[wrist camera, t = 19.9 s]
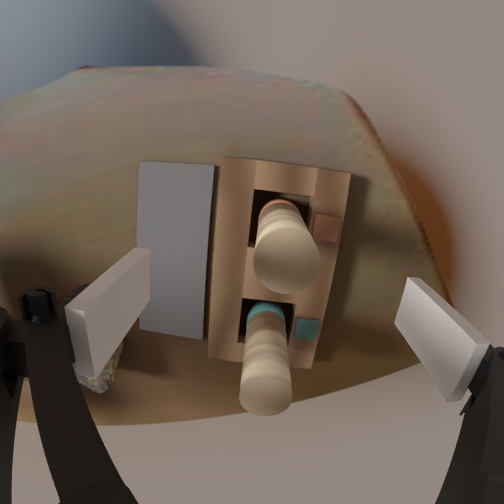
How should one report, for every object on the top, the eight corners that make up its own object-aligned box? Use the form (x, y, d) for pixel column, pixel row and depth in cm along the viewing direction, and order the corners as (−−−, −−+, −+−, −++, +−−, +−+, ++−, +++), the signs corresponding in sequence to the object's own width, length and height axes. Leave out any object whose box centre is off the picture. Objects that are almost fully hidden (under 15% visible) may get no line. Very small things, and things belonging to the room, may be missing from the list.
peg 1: (261, 194, 31) (256, 224, 18) (302, 200, 31) (327, 233, 18) (256, 234, 33) (248, 290, 19) (296, 239, 33) (314, 297, 19)
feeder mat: (140, 327, 37) (139, 329, 36) (141, 160, 31) (139, 160, 30) (203, 338, 37) (202, 339, 36) (215, 165, 31) (214, 165, 30)
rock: (107, 318, 32) (122, 398, 32) (130, 306, 38) (141, 377, 39) (7, 313, 32) (22, 381, 32) (36, 305, 39) (47, 366, 39)
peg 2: (249, 295, 35) (240, 376, 21) (286, 298, 35) (297, 380, 21) (246, 327, 36) (237, 414, 23) (281, 330, 36) (288, 417, 22)
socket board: (211, 346, 37) (207, 358, 34) (225, 156, 30) (222, 156, 28) (308, 356, 37) (311, 369, 34) (344, 171, 30) (351, 173, 28)
